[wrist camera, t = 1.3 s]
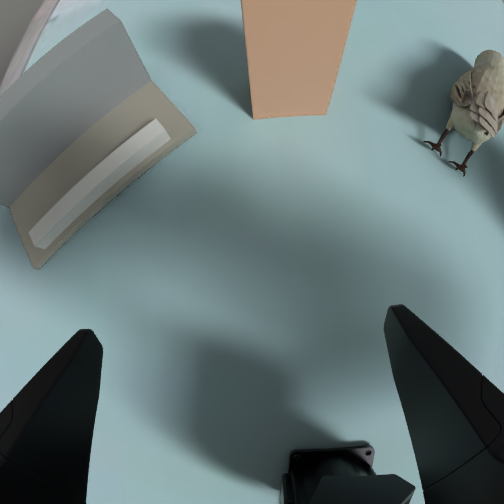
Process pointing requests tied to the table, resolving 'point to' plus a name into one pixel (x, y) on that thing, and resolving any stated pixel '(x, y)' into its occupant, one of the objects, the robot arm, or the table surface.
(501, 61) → the decorative bird
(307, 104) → the tan tall block
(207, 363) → the table surface
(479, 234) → the table surface
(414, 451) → the robot arm
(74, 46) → the wall board
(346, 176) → the table surface
